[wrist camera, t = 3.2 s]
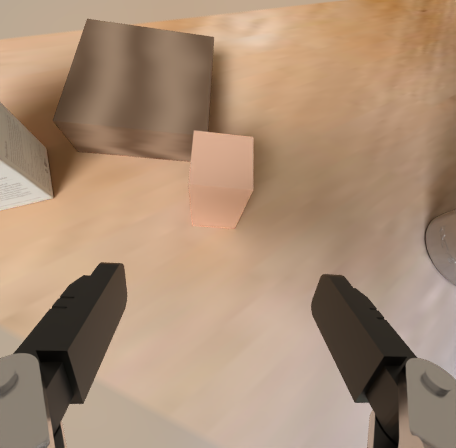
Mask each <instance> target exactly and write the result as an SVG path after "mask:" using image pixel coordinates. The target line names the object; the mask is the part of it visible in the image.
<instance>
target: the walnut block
mask: <svg viewBox="0 0 456 448" xmlns="http://www.w3.org/2000/svg"><path fill="white" fill-rule="evenodd" d="M213 46H214V37H210V36H203V35H196V34H189V33H182V32H175V31H168V30H161V29H154V28H147V27H140V26H134V25H127V24H120V23H112V22H105V21H98V20H91V19H87V21H86V24H85V27H84V30H83V33H82V36H81V39H80V42H79V44H78V47H77V50H76V53H75V56H74V59H73V62H72V65H71V68H70V71H69V74H68V77H67V80H66V83H65V86H64V89H63V92H62V95H61V98H60V101H59V104H58V107H57V110H56V112H55V115H54V118H53V122H54V123H55V124H56V125H57V126H58V128H59V129H60V130H61V131H62V133H63V134H64V135H65V136H66V138H67V139H68V140H69V141H70V142H71V144H72V145H73V146H74V147H75V149H76V150H77V151H78V152H88V153H99V154H110V155H121V156H132V157H143V158H154V159H165V160H176V161H187V162H191V153H192V143H193V134H194V130H195V131H204V132H208V126H209V111H210V96H211V81H212V64H213Z"/></svg>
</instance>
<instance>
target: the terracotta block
mask: <svg viewBox="0 0 456 448" xmlns="http://www.w3.org/2000/svg"><path fill="white" fill-rule="evenodd" d="M188 187H189V197H190V208H191V219H192V226H203V227H217V228H231V229H235V227H236V225H237V223H238V221H239V219H240V217H241V215H242V213H243V211H244V209H245V206H246V204H247V202H248V200H249V198H250V196H251V194H252V192H253V137H249V136H240V135H231V134H222V133H213V132H204V131H195V130H194V134H193V143H192V153H191V163H190V173H189V182H188Z"/></svg>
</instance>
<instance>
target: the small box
mask: <svg viewBox="0 0 456 448" xmlns="http://www.w3.org/2000/svg"><path fill="white" fill-rule="evenodd" d="M52 198H53V190H52V183H51V176H50V169H49V162H48V156H47V149H46V147H45V146H44V145H43V144H42V143H41V142H40V141H39V140H38V139H37V138H36V137H35V136H34V135H33V134H32V133H31V132H30V131H29V130H28V129H27V128H26V127H25V126H24V125H23V124H22V123H21V122H20V121H19V120H18V119H17V118H16V117H15V116H14V115H13V114H12V113H11V112H10V111H9V110H8V109H7V108H6V107H5V106H4V105H3V104H1V103H0V211H1V210H5V209H9V208H14V207H18V206H22V205H26V204H31V203H35V202H39V201H44V200H48V199H52Z"/></svg>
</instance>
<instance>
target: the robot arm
mask: <svg viewBox="0 0 456 448" xmlns="http://www.w3.org/2000/svg"><path fill="white" fill-rule="evenodd" d="M426 245H427V250H428V253H429V255H430V258H431V260H432V261H433V263H434V265H435V266H436V268H437V269H438V270H439V272H440V273H441V274H442V275H443V276H444V277H445V278H446V279H447V280H448V281H450V282H451V283H453V284H454V285H456V210H453V211H450V212H448V213H445V214H442V215H440V216H437V217H436V218H434V219H433V220H432V221H431V223H430V224H429V226H428V228H427V232H426ZM126 302H127V288H126V279H125V270H124V265H123V264H122V263H104V262H101V263H100V264H99V265H98V266H97V267H96V269H95V270H94V271H93V273H92V274H91V276H87V275H83V276H82V277H80V278H79V279H77V280H76V281H75V282H73V283H72V284H70V285H69V286H68V287H67V289H66V290H65V291H64V292H63V294H62V295H61V296H60V299H58V300H57V301H56V302H55V303H54V305H53V306H52V309H50V310H49V311H48V312H47V313H46V314H45V316H44V317H43V318H42V319H41V321H40V322H39V323H38V324H37V325H36V327H35V328H34V329H33V330H32V332H31V333H30V334H29V335H28V337H27V338H26V339H25V340H24V341H23V343H22V344H21V345H20V346H19V348H18V349H17V350H16V351H15V352H14V353H13V354H12V355H8V356H5V357H2V358H0V448H67V445H66V439H65V434H64V429H63V423H62V418H63V416H64V414H65V412H66V410H67V408H68V406H69V404H83V403H84V401H85V399H86V396H87V394H88V392H89V390H90V387H91V385H92V383H93V381H94V378H95V376H96V374H97V371H98V369H99V367H100V365H101V362H102V360H103V358H104V356H105V353H106V351H107V349H108V346H109V344H110V342H111V340H112V337H113V335H114V333H115V330H116V328H117V326H118V324H119V321H120V319H121V317H122V315H123V312H124V310H125V307H126ZM376 309H377V308H376V307H375V306H374V305H373V304H372V302H371V301H370V300H369V299H368V297H366V296H365V295H364V294H362V293H361V292H360V291H358V290H357V289H356V288H353V287H352V286H351V284H350V283H349V282H348V281H347V279H346V278H345V277H344V276H342V275H329V274H323V275H322V276H321V278H320V280H319V283H318V286H317V288H316V291H315V294H314V297H313V300H312V304H311V310H312V315H313V318H314V320H315V322H316V324H317V326H318V328H319V330H320V332H321V334H322V336H323V338H324V340H325V342H326V344H327V346H328V348H329V351H330V353H331V355H332V357H333V359H334V361H335V363H336V365H337V367H338V369H339V371H340V373H341V375H342V377H343V379H344V381H345V383H346V386H347V388H348V390H349V392H350V394H351V396H352V398H353V400H354V402H355V403H370V405H371V407H372V409H373V410H372V412H371V414H370V418H369V431H368V443H367V448H456V380H455V379H454V378H453V377H452V376H451V375H450V374H449V373H448V372H446V371H445V370H444V369H442V368H441V367H439V366H438V365H436V364H434V363H432V362H430V361H427V360H424V359H421V358H417V357H416V356H415V354H414V353H413V352H412V351H411V350H410V348H409V347H408V346H407V345H406V344H405V342H404V341H403V340H402V339H401V337H400V336H399V335H398V334H397V333H396V331H395V330H394V329H393V328H392V327H391V325H390V324H389V323H388V322H387V320H384V317H383V316H382V314H381V313H380V312H379V311H377V310H376Z"/></svg>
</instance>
